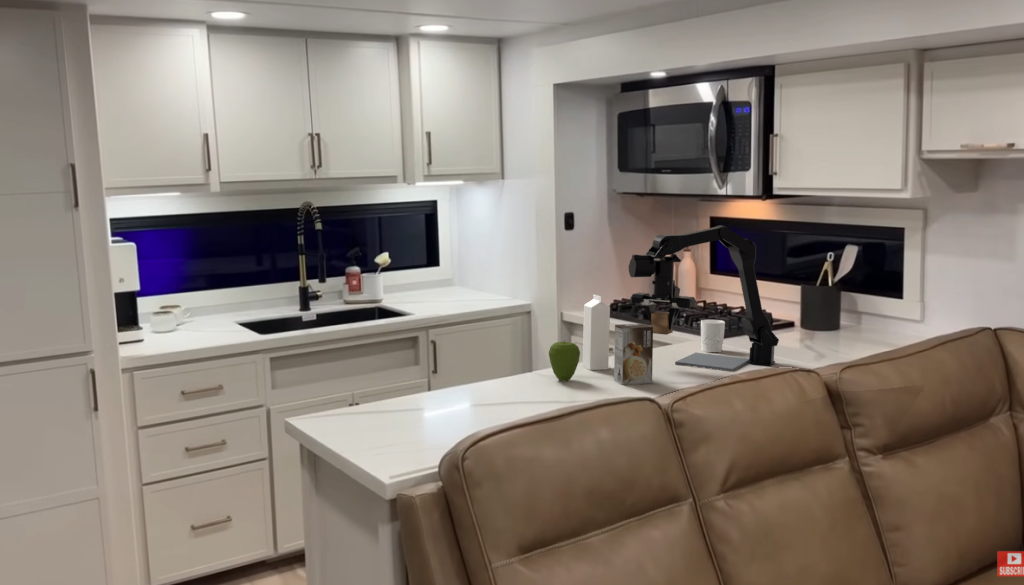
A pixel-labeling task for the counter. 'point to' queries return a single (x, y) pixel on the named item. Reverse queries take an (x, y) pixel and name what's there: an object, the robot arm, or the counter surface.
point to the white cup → (712, 335)
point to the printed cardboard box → (633, 354)
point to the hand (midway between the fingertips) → (661, 328)
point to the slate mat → (713, 361)
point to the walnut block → (660, 323)
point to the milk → (596, 334)
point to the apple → (564, 359)
